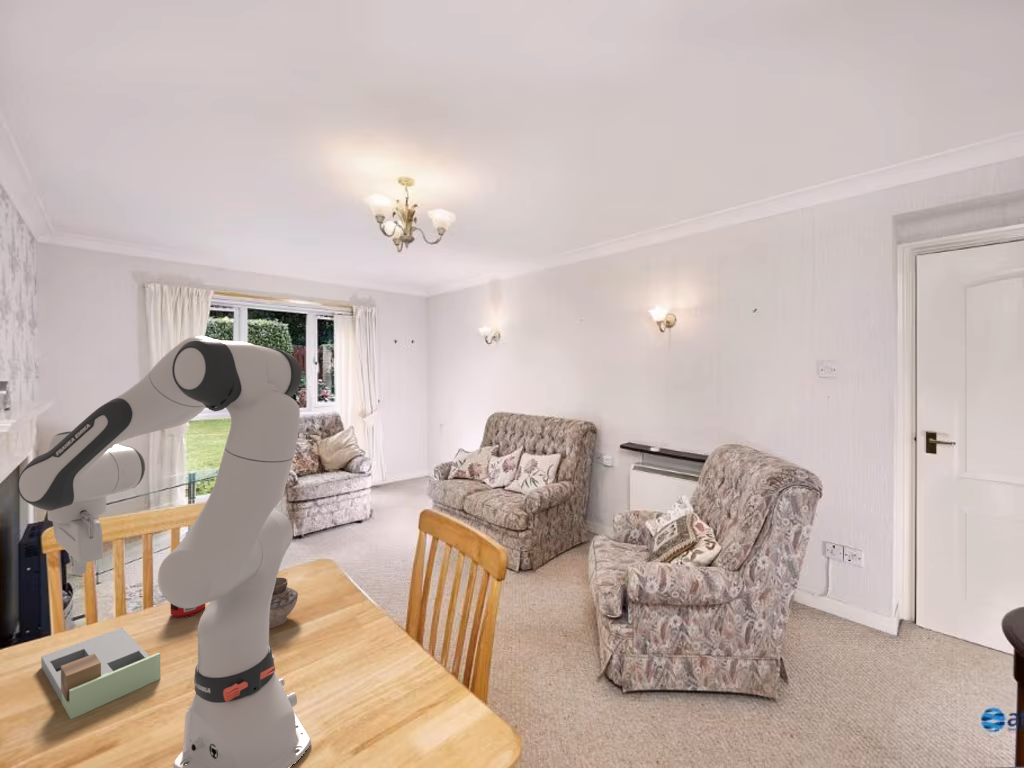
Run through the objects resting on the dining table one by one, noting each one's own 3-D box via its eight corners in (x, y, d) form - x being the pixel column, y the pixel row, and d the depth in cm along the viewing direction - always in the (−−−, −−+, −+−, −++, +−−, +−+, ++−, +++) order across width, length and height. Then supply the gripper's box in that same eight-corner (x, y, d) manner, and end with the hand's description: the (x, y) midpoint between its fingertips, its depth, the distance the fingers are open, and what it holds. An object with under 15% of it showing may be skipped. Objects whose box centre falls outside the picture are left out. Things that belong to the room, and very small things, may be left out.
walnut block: (101, 687, 90) (100, 662, 90) (66, 701, 86) (66, 676, 86) (94, 677, 93) (94, 653, 93) (61, 690, 89) (60, 666, 89)
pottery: (234, 601, 129) (234, 560, 129) (307, 614, 123) (307, 571, 122) (198, 622, 118) (197, 577, 118) (275, 637, 112) (274, 590, 111)
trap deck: (160, 678, 96) (160, 653, 96) (70, 719, 85) (70, 691, 85) (122, 637, 111) (121, 615, 111) (41, 667, 100) (41, 643, 100)
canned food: (212, 604, 127) (212, 566, 127) (189, 619, 119) (189, 579, 119) (187, 603, 128) (187, 565, 128) (163, 618, 120) (162, 577, 120)
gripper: (112, 512, 90) (113, 580, 90) (85, 495, 102) (86, 556, 102) (69, 520, 85) (70, 592, 85) (45, 502, 96) (46, 565, 97)
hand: (78, 572), depth 93 cm, fingers closed
